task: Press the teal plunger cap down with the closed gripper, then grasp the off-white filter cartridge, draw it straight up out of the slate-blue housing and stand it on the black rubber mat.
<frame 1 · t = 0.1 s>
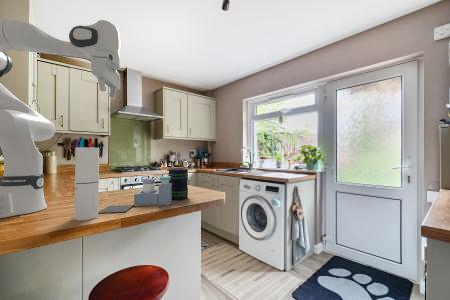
hand: (107, 94, 87), 48 cm above the countertop, tool pointing down, fingers open, 8 cm apart
filter housing: (148, 202, 96), on the countertop
rubber mat: (116, 209, 84), on the countertop
storage jar: (178, 198, 105), on the countertop
filter cartridge: (148, 202, 96), resting in filter housing
cylindrical container: (86, 217, 74), on the countertop
plunger: (165, 184, 94), point 9 cm above the countertop, slide at 0.0 cm
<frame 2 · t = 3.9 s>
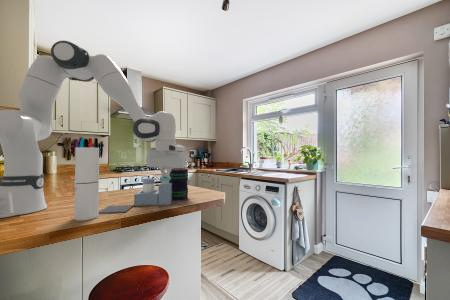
hand: (165, 177, 95), 12 cm above the countertop, tool pointing down, fingers closed, pressing on plunger
plunger: (165, 185, 94), point 8 cm above the countertop, slide at -0.3 cm, touching gripper
everything else where it was.
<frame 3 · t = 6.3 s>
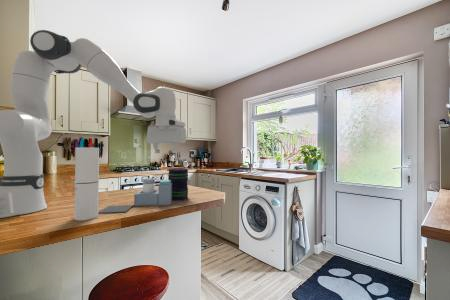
hand: (165, 153, 95), 23 cm above the countertop, tool pointing down, fingers open, 8 cm apart
plunger: (165, 188, 94), point 7 cm above the countertop, slide at -1.9 cm
everything else where it was.
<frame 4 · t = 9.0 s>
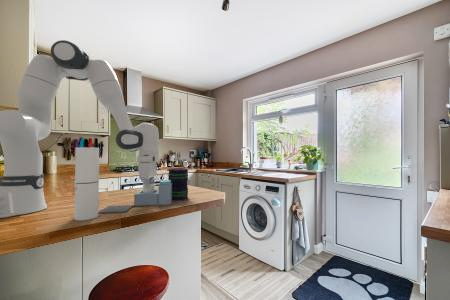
hand: (148, 187, 96), 7 cm above the countertop, tool pointing down, fingers closed on filter cartridge, 5 cm apart
filter cartridge: (148, 202, 96), resting in filter housing, touching gripper
everything else where it was.
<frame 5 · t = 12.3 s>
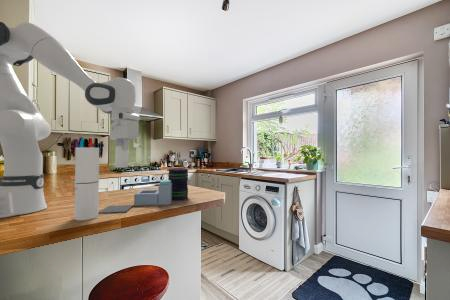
hand: (122, 150, 86), 24 cm above the countertop, tool pointing down, fingers closed on filter cartridge, 5 cm apart
filter cartridge: (121, 167, 86), point 17 cm above the countertop, touching gripper
everything else where it was.
when the fingers open (9 cm above the countertop, at t = 16.1 s): filter cartridge drops 1 cm, resting on rubber mat.
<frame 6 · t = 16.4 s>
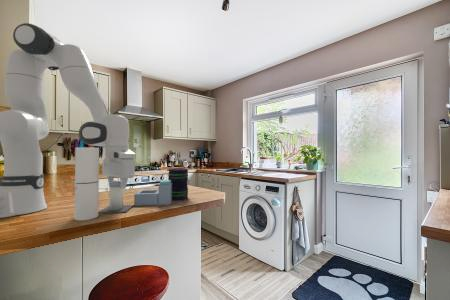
hand: (117, 187, 84), 9 cm above the countertop, tool pointing down, fingers open, 8 cm apart
filter cartridge: (116, 208, 84), point 1 cm above the countertop, touching rubber mat
everything else where it was.
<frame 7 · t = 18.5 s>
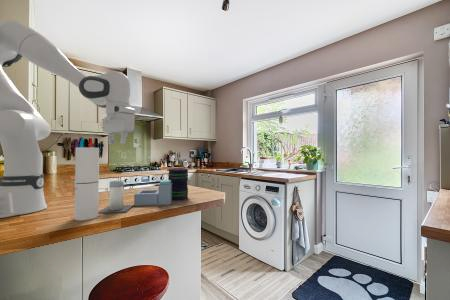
hand: (117, 143, 86), 27 cm above the countertop, tool pointing down, fingers open, 8 cm apart
nothing on the countertop moved.
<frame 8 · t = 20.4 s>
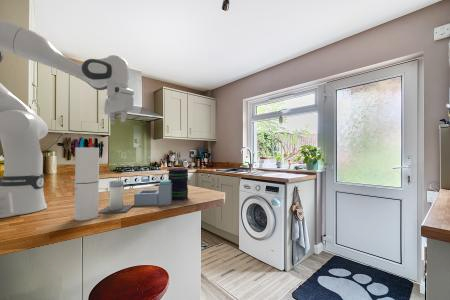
hand: (117, 122, 95), 37 cm above the countertop, tool pointing down, fingers open, 8 cm apart
nothing on the countertop moved.
at the end: filter cartridge 0.1 cm off-centre on the rubber mat, point 0.5 cm above the rubber mat's base; filter cartridge tilted 1°; plunger slide at -1.9 cm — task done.
